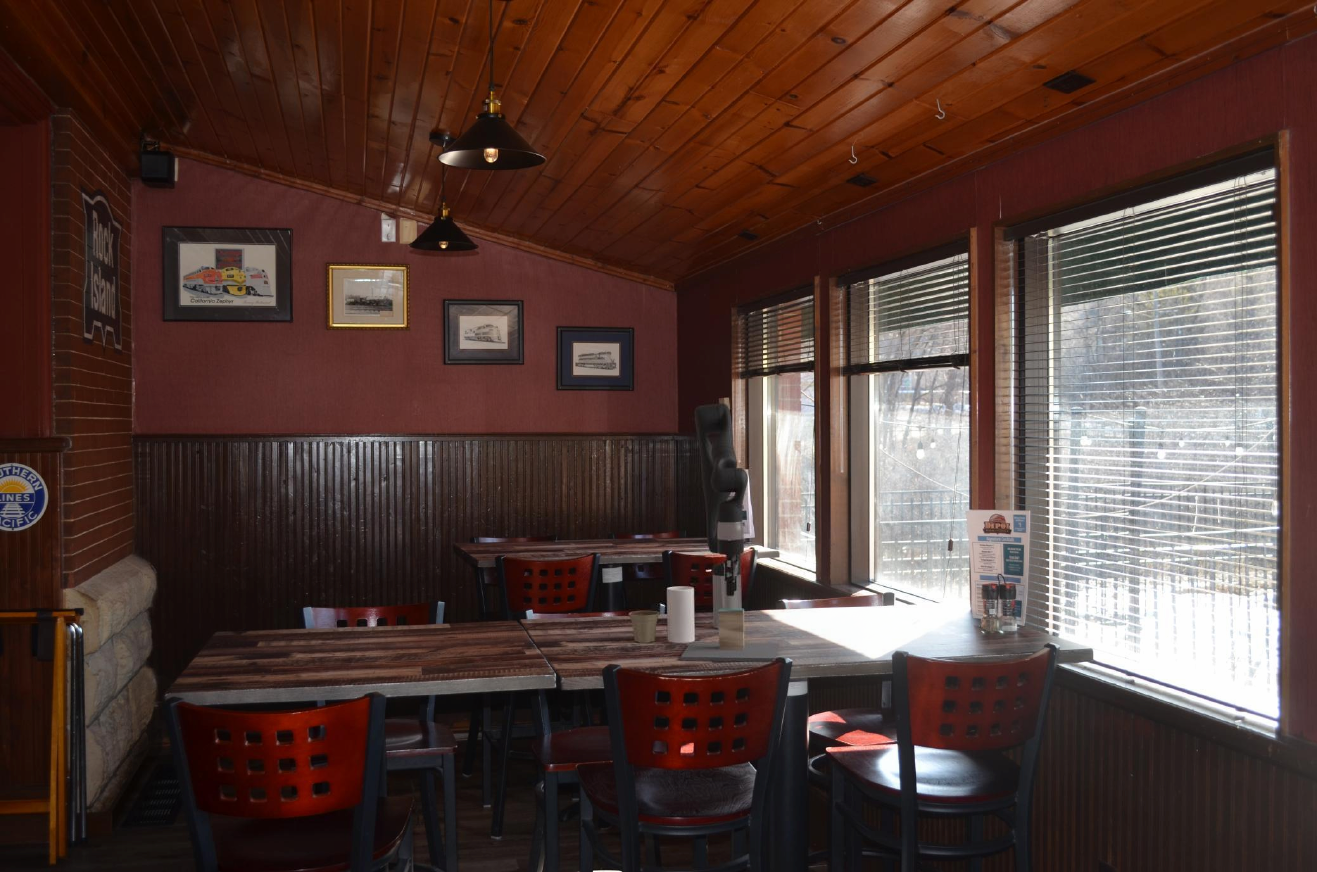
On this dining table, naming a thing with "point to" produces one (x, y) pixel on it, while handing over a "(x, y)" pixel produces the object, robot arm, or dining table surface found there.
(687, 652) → the mat
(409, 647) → the dining table surface
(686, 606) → the white cylinder
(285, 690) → the dining table surface
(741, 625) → the block
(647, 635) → the flower pot
